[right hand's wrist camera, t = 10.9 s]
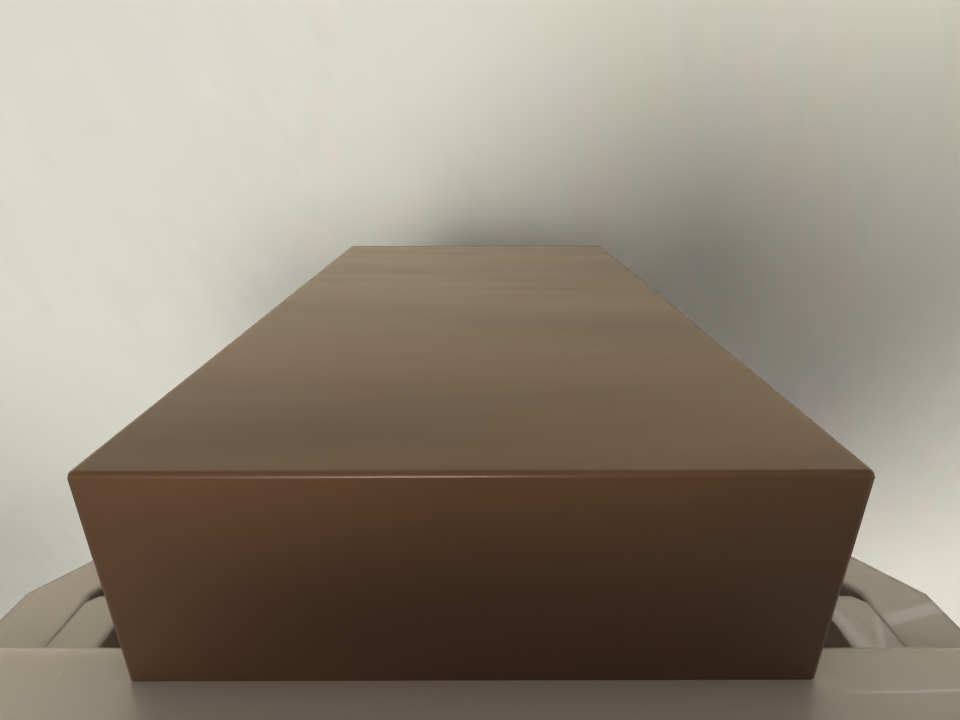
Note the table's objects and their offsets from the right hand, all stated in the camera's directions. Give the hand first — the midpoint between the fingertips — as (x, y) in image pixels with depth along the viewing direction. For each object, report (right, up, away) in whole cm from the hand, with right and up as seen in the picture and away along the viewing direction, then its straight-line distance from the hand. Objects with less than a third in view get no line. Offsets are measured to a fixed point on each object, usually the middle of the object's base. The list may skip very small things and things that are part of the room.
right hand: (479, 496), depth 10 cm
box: (0, -7, +8) cm, 10 cm away
